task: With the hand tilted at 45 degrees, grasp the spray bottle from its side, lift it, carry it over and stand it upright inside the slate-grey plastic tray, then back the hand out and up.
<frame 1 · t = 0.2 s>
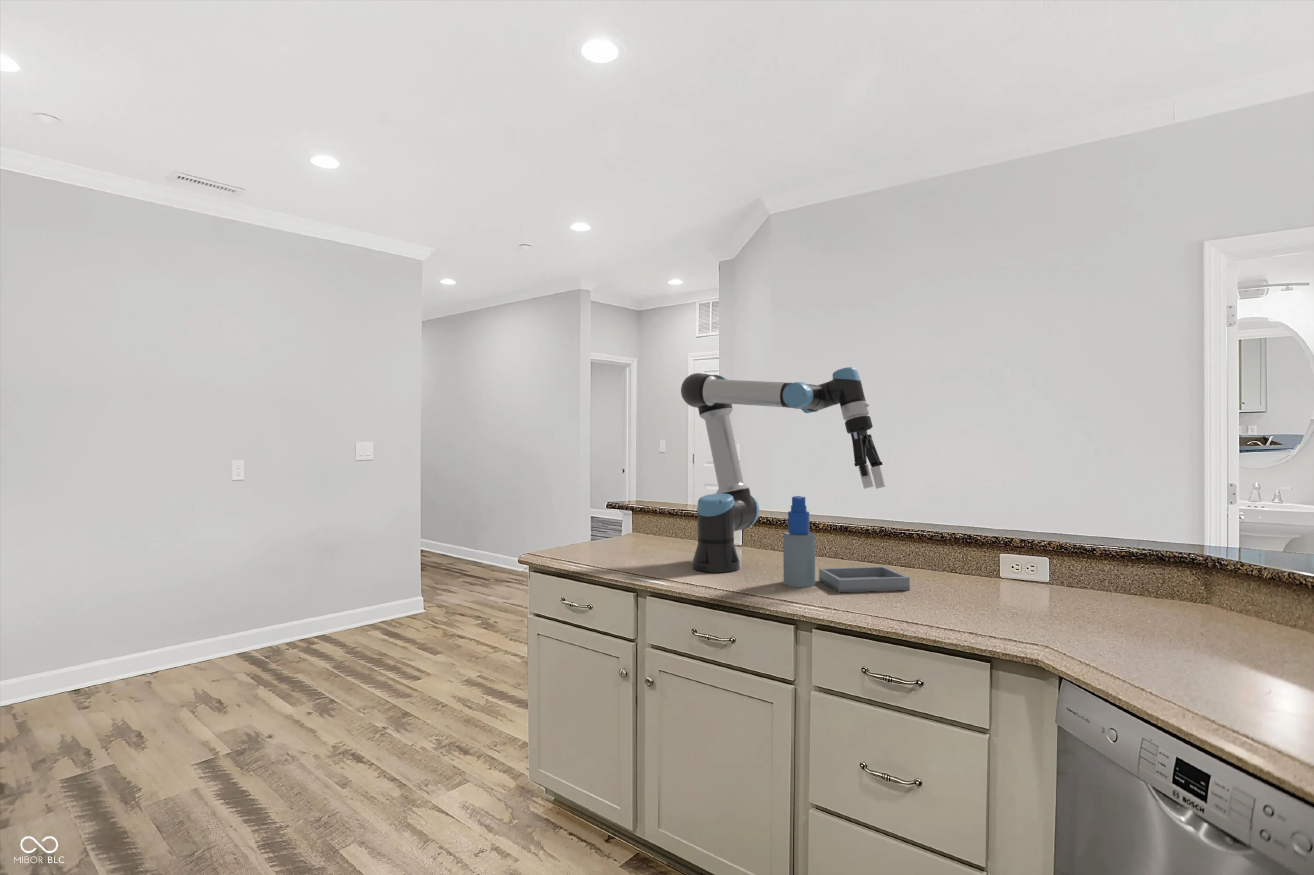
hand: (875, 487, 189), 27 cm above the worktop, tool tilted 15°, fingers open, 13 cm apart
spray bottle: (799, 584, 185), on the worktop
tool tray: (862, 585, 183), on the worktop
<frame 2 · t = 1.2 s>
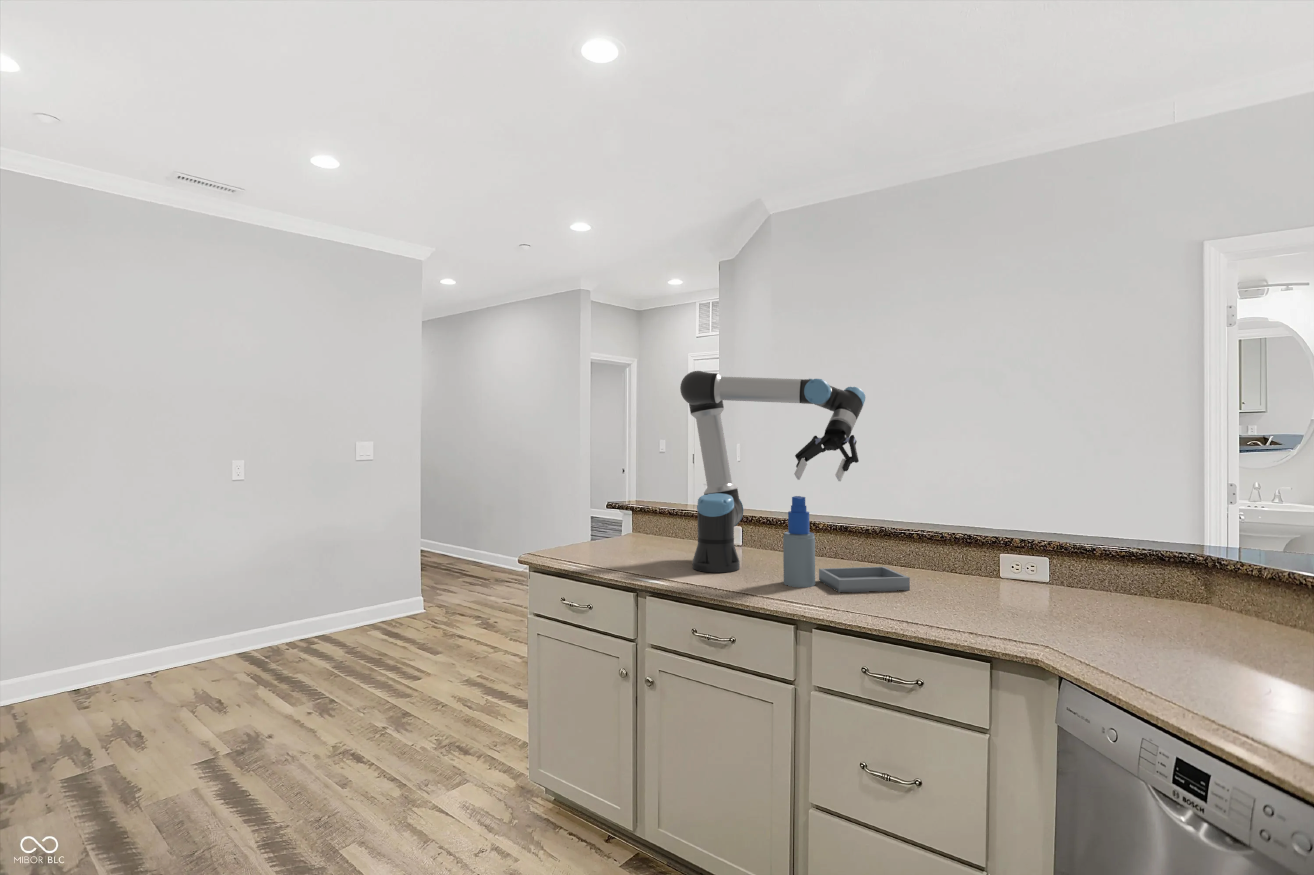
hand: (816, 477, 192), 30 cm above the worktop, tool tilted 45°, fingers open, 13 cm apart
nothing on the worktop moved.
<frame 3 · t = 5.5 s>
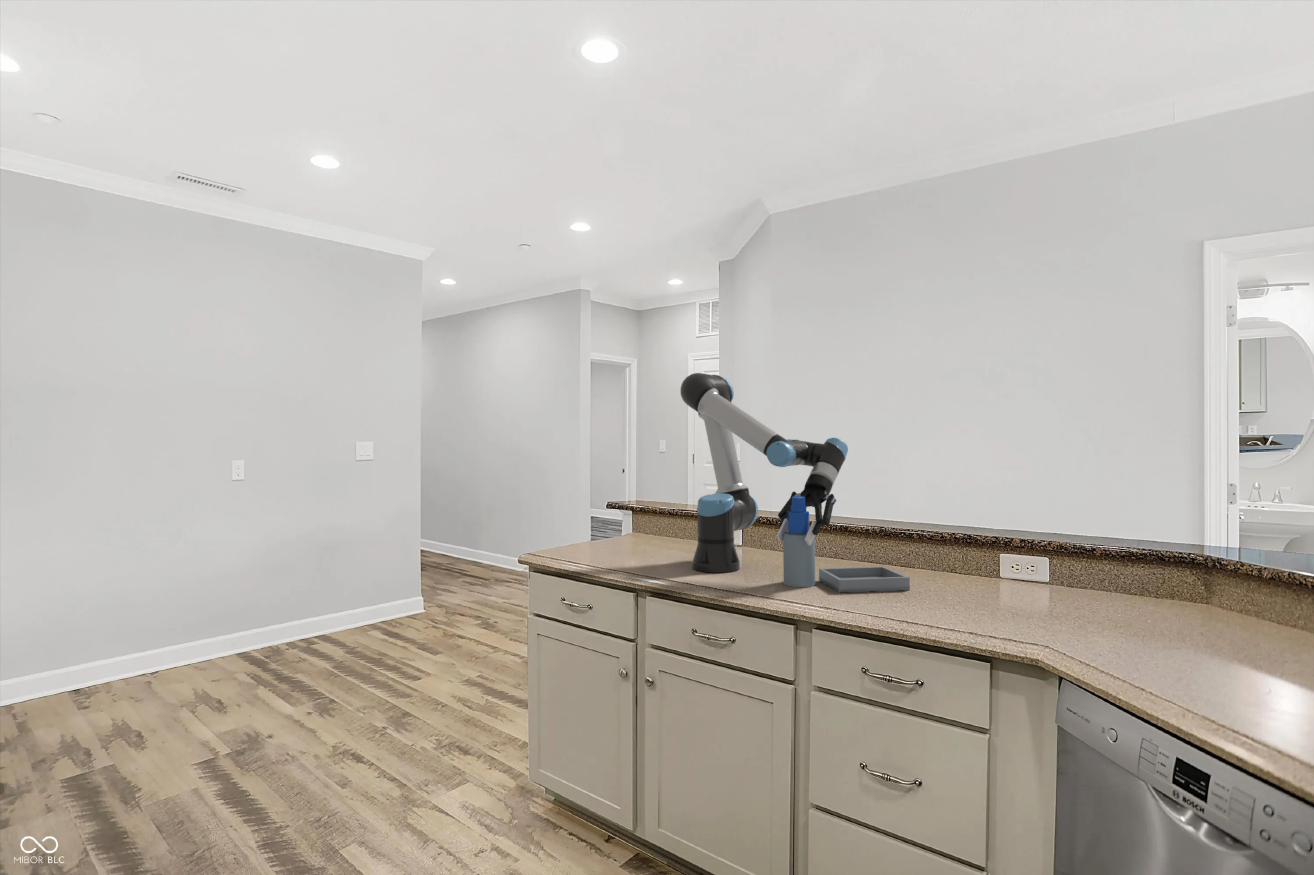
hand: (793, 540, 183), 13 cm above the worktop, tool tilted 45°, fingers closed on spray bottle, 8 cm apart
spray bottle: (799, 584, 185), on the worktop, touching gripper
when the fingers open (15 cm above the worktop, at t = 11.0 s): spray bottle drops 1 cm, resting on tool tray.
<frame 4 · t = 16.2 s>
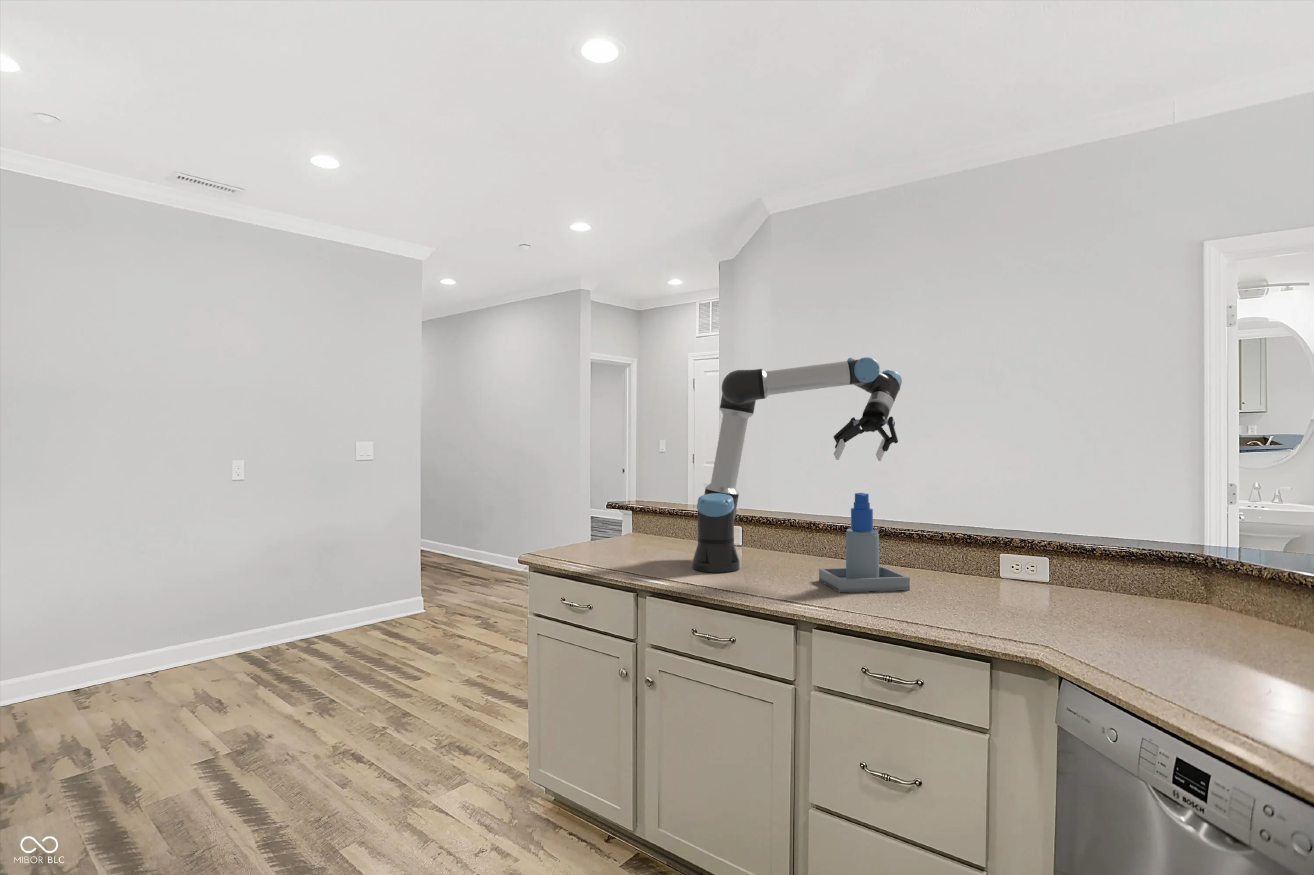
hand: (856, 457, 196), 36 cm above the worktop, tool tilted 45°, fingers open, 13 cm apart
spray bottle: (862, 582, 183), point 1 cm above the worktop, touching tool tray
at the end: spray bottle inside the target area on the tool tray (0.1 cm from its centre), point 0.8 cm above the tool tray's base; spray bottle tilted 0°; the gripper is holding nothing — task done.
